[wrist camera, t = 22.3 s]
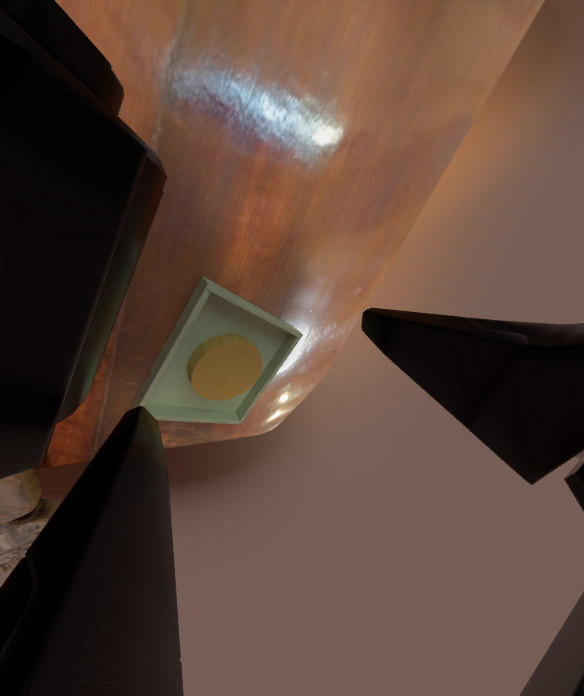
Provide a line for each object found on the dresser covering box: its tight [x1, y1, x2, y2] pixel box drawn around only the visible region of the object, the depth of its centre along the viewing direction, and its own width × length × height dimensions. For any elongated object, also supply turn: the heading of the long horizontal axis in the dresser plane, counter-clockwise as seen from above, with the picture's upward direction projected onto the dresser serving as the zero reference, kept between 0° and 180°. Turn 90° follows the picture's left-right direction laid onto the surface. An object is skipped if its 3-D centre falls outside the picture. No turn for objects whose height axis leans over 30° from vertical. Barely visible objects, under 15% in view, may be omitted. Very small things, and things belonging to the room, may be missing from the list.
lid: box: [187, 333, 262, 400], centre depth 21 cm, size 7×7×2 cm
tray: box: [132, 276, 303, 424], centre depth 21 cm, size 13×11×2 cm
